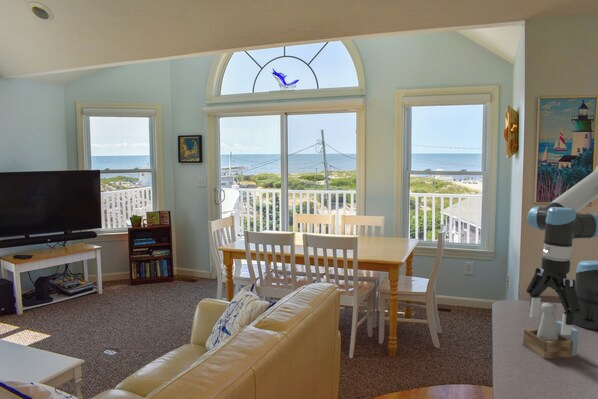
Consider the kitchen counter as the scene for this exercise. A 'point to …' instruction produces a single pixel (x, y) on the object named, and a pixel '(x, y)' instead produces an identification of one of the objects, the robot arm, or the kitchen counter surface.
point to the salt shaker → (548, 323)
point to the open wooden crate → (548, 345)
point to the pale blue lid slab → (570, 336)
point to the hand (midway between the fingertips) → (549, 325)
